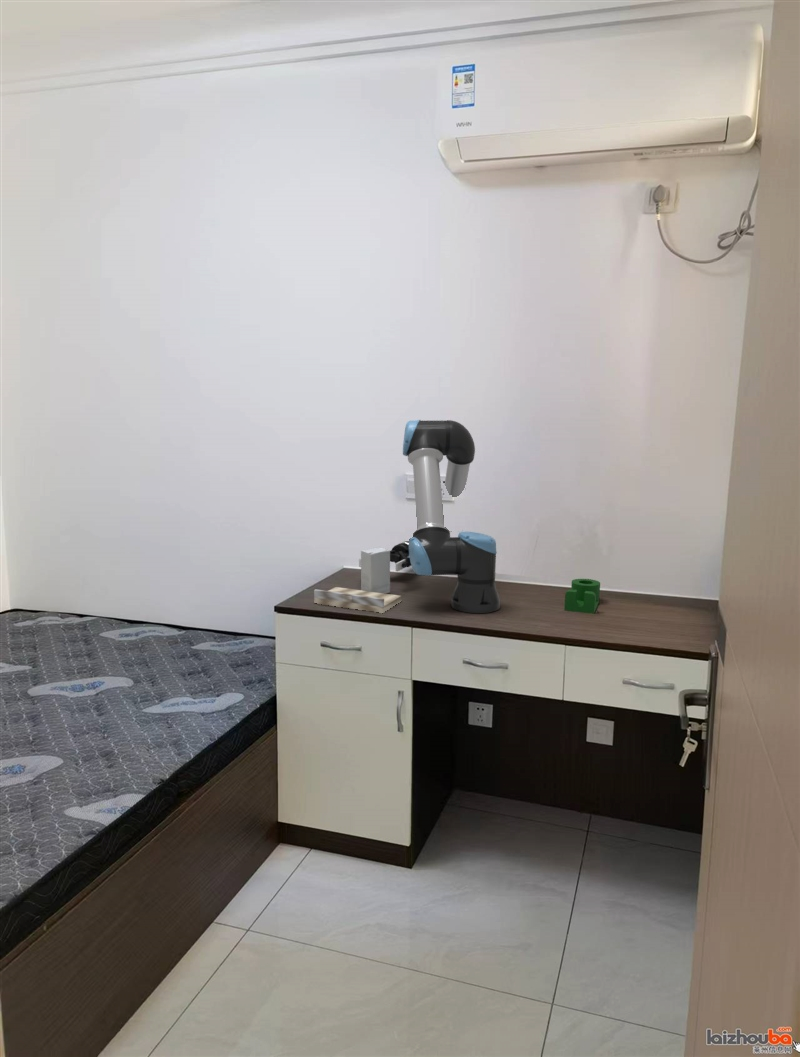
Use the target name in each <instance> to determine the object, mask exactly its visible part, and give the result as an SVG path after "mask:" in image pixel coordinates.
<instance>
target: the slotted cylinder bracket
mask: <svg viewBox="0 0 800 1057" xmlns="http://www.w3.org/2000/svg"><path fill="white" fill-rule="evenodd" d="M600 590H601V582H600V581H598V580H596V579H590V578H575V579H572V580H571V588H570V589H567V591H566V592H565V595H564V611H567V612H573V613H574V612H576V613H585V614H592V615H593V614H595V612H596V611H597V609H598V605H599V603H600V593H601V591H600Z"/></svg>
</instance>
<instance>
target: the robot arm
mask: <svg viewBox="0 0 800 1057" xmlns="http://www.w3.org/2000/svg"><path fill="white" fill-rule="evenodd" d="M404 428H405V429H404V435H403V444H402V455H403V456H405V457H407V461H408V463H409V464H411V465H412V470H413V485H414V486H413V488H414V500H415V502H414V503H415V505H416V517H417V530H416V531H415V532H414V533H413V537H412V538H410V539H409V541H405V540H404V541H402V542H400V543H398V544H395V545H394V546H393V547H392V548H391V549H390V563H395V572H397V573H398V572H400V571H401V570H403V569H405V568H410V567H411V569H412V571H413V572H414V573H415V574H416V575H418V576H429V577H430V576H457V583H456V586H455V589H454V591H453V594H452V597H451V603H450V604H451V605H450V606H451V607H452V608H453V609H454V610H457V611H460V612H464V613H470V614H471V613H472V614H487V613H492V612H496V611H498V610H500V608H501V606H500V605H501V601H500V596H499V592H498V590H497V586H496V565H497V564H496V562H497V560H496V559H497V554H498V553H497V552H498V551H497V542H496V539H495V537H492V536H491V535H488V534H484V533H480V532H475V531H459V533H458V535H457V537H452V536H451V531H449V530H448V529H447V528H446V527H444V515H443V504H442V498H443V494H442V484H441V483H442V482H441V471H440V469H441V468H440V463H441V462H442V461H443V459H444V456H445V458H446V459H447V464H446V465H447V466H446V470H445V471H446V472H445V480H444V485H445V486H446V489H447V491H448V493H449V495H452V497H457V496H459V495H460V494H461V493H462V491H463V490H464V488H465V485H466V486H467V483H468V482H467V481H468V478H469V477H468V476H469V471H470V467H471V466H470V464H471V463H473V461H474V459H475V455H476V454H475V453H476V446H475V442H474V441H475V440H474V439H473V436H472V434H471V432H470V431H469V430H468V429H467V428H466V427H465V426H464V425H463V424H462V423H460V422H458V421H455V420H451V419H450V420H449V419H448V420H443V419H442V420H441V419H440V420H421V419H417V420H409V421H407V423H406V424H405V427H404ZM466 482H467V483H466ZM465 489H466V488H465ZM358 567H360V568H361V557H360V558H359V559H358Z"/></svg>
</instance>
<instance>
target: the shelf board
mask: <svg viewBox="0 0 800 1057" xmlns="http://www.w3.org/2000/svg"><path fill="white" fill-rule="evenodd" d="M402 599H403V598H402V595H397V594H392V593H391V594H389V593H377V592H369V591H362V590H361V589H353V588H346V587H339V586H335V587H332V588H331V589H329V590H323V589H314V590H313V600H314V601H313V602H314V603H317V604H316V605H321V604H322V606H328V605H329V607H334V606H336V608H341V607H343V608H342V609H348V608H349V609H350V610H355V609H358V610H357V611H362V610H366V611H365V612H369V611H374V612H373V613H376V612H379V613H378V614H382V613H383V614H385V613H386V612H388V611H389V610H391V609H393V608H394V607H395V605H396V604H397V605H399V604H400V602H401V601H402ZM398 603H399V604H398ZM401 603H402V602H401ZM397 605H396V606H397ZM393 606H394V607H393ZM390 608H391V609H390ZM387 610H388V611H387ZM385 611H386V612H385Z"/></svg>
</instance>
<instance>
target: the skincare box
mask: <svg viewBox="0 0 800 1057" xmlns="http://www.w3.org/2000/svg"><path fill="white" fill-rule="evenodd" d="M390 551H391V549H386V548H384V547H381V546H379V547H373V548H369V549H368V548H367V549H363V550H360V558H361V567H360V590H362V591H369V592H377V593H384V594H389V593H391V562H390Z"/></svg>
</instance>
